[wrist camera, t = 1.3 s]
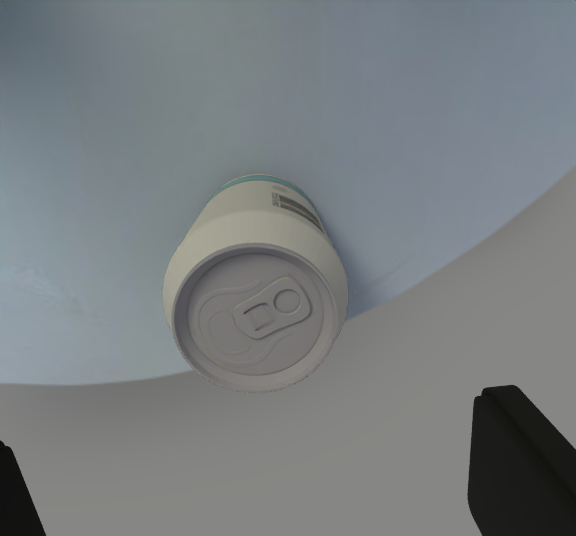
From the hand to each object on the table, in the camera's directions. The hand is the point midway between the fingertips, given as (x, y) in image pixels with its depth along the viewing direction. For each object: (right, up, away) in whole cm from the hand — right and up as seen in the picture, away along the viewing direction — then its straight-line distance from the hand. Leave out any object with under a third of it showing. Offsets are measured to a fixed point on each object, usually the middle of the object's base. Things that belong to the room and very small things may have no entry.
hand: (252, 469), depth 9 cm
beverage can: (-1, +6, +17) cm, 18 cm away
